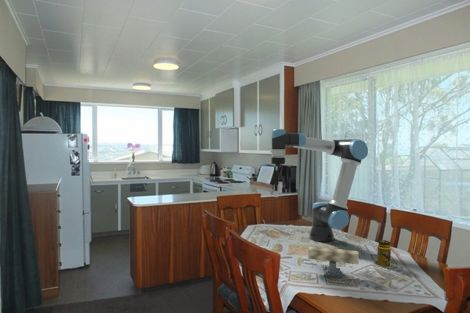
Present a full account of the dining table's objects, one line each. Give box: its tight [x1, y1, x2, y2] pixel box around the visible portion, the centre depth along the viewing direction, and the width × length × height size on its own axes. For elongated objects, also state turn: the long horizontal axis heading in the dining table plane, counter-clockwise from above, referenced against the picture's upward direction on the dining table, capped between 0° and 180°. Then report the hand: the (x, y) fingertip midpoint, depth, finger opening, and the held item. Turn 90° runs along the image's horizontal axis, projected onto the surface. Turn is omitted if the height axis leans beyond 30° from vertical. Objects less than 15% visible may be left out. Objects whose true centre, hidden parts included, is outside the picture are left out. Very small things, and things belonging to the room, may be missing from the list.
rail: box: [324, 261, 342, 279], centre depth 150 cm, size 10×7×6 cm
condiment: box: [371, 239, 393, 269], centre depth 161 cm, size 7×8×12 cm
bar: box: [307, 245, 360, 265], centre depth 150 cm, size 22×4×4 cm, turn 73°
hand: (277, 194), depth 180 cm, fingers open, 13 cm apart
